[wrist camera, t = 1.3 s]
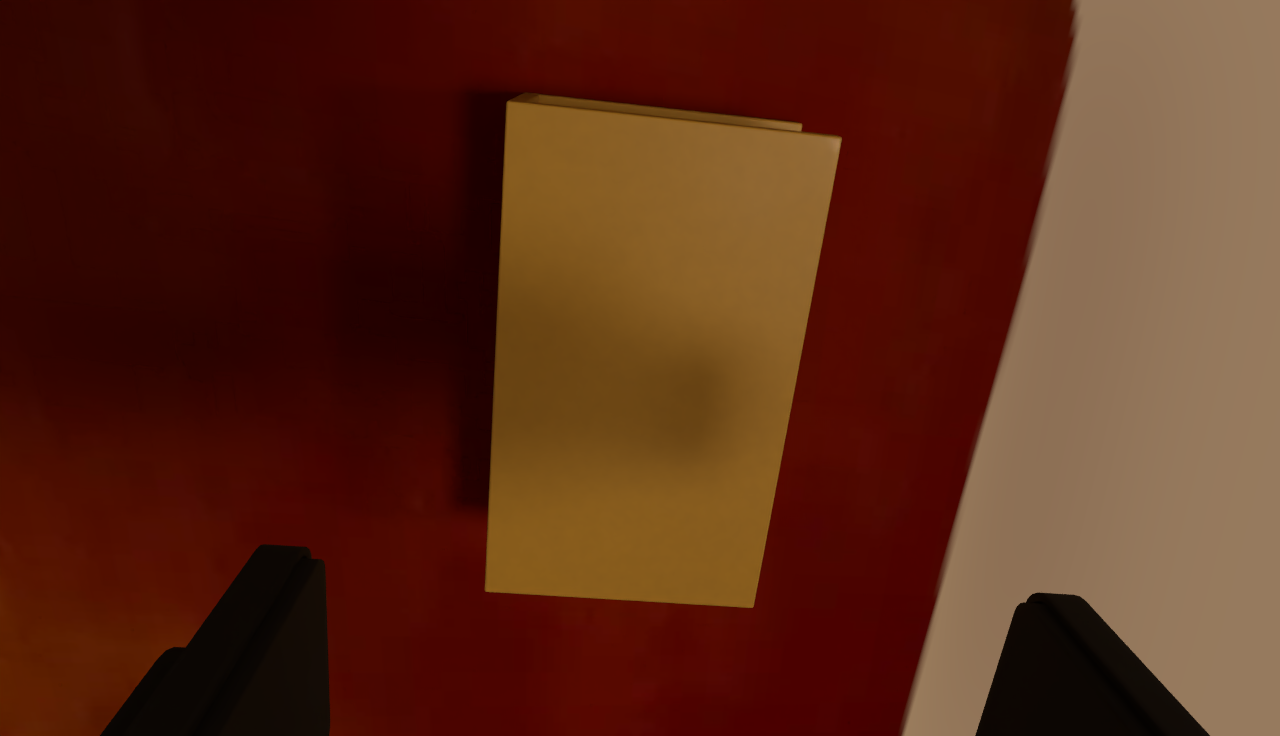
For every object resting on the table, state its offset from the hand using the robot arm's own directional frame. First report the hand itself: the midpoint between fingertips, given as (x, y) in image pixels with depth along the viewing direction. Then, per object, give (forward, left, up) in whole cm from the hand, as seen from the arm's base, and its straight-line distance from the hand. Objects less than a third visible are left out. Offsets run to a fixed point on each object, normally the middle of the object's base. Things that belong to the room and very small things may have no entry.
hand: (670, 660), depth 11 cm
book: (0, 0, -13) cm, 13 cm away
